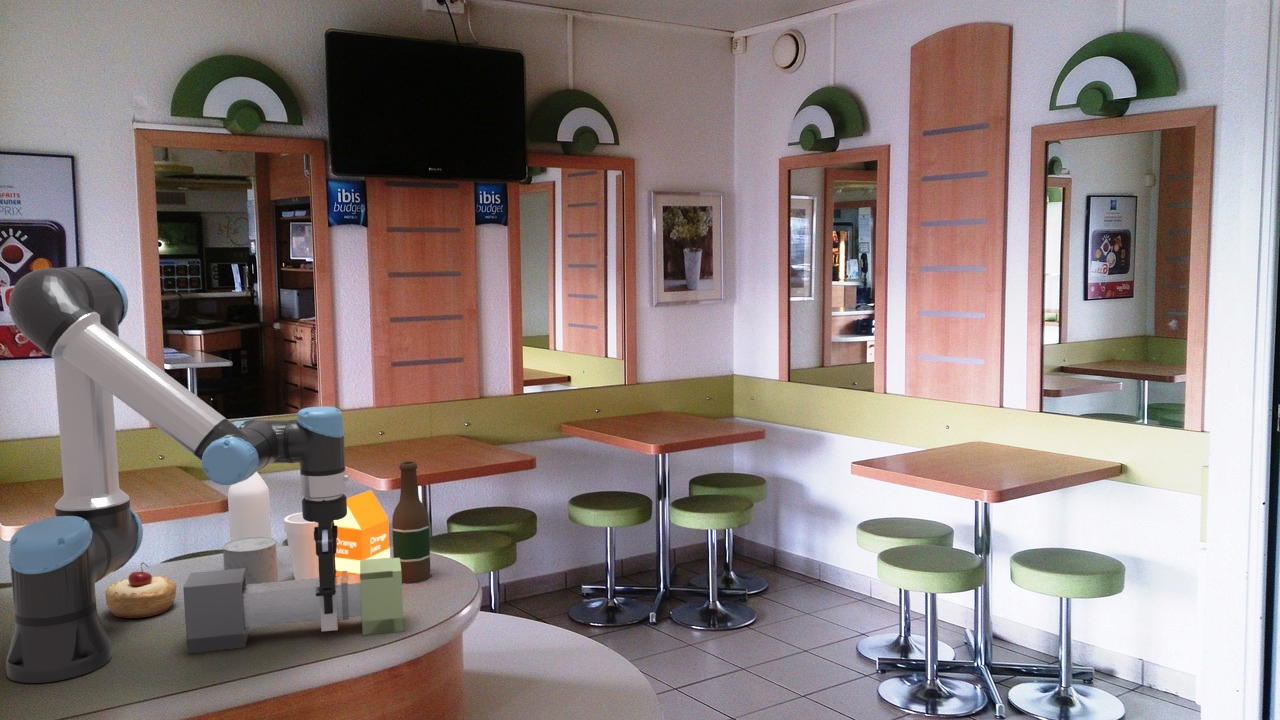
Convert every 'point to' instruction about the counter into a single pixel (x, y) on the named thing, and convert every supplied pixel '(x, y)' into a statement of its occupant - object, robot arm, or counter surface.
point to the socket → (381, 595)
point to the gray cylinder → (252, 558)
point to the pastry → (140, 595)
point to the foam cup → (302, 546)
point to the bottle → (249, 509)
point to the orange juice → (361, 533)
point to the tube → (297, 600)
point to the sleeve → (214, 610)
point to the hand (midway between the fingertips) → (330, 623)
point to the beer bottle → (411, 529)
